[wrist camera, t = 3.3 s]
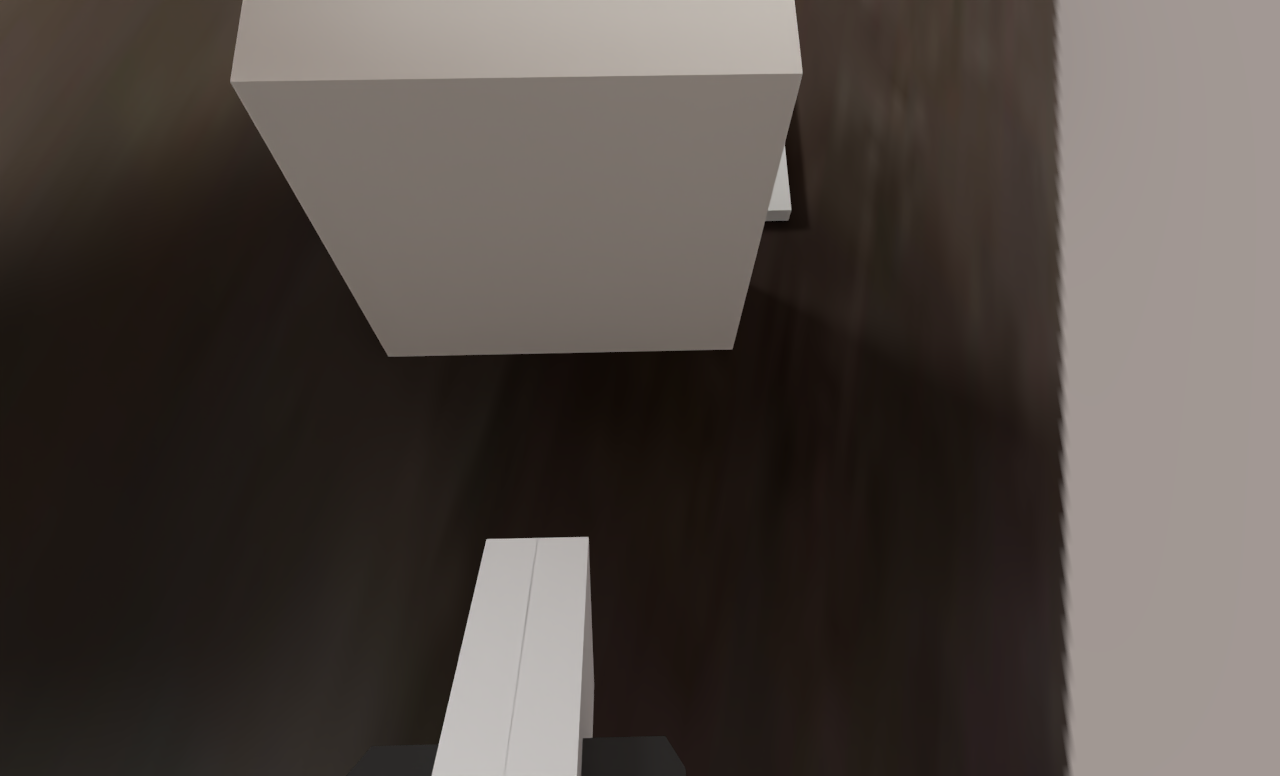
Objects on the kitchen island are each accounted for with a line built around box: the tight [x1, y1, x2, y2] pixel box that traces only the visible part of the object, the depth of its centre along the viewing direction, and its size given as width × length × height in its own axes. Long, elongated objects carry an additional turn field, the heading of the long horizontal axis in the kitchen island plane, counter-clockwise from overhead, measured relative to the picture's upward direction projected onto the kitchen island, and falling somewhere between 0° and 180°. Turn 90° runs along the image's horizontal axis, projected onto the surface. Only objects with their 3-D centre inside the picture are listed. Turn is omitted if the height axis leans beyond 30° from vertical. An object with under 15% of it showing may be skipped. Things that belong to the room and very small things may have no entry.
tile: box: [230, 0, 803, 357], centre depth 23 cm, size 3×10×12 cm, turn 91°
